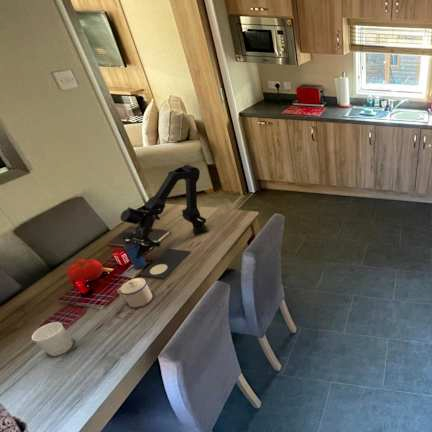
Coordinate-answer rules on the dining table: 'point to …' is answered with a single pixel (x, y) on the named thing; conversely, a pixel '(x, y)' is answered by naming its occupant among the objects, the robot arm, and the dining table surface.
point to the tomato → (85, 270)
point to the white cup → (53, 338)
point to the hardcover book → (155, 235)
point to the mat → (165, 264)
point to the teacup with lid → (136, 292)
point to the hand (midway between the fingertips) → (133, 257)
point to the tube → (135, 255)
